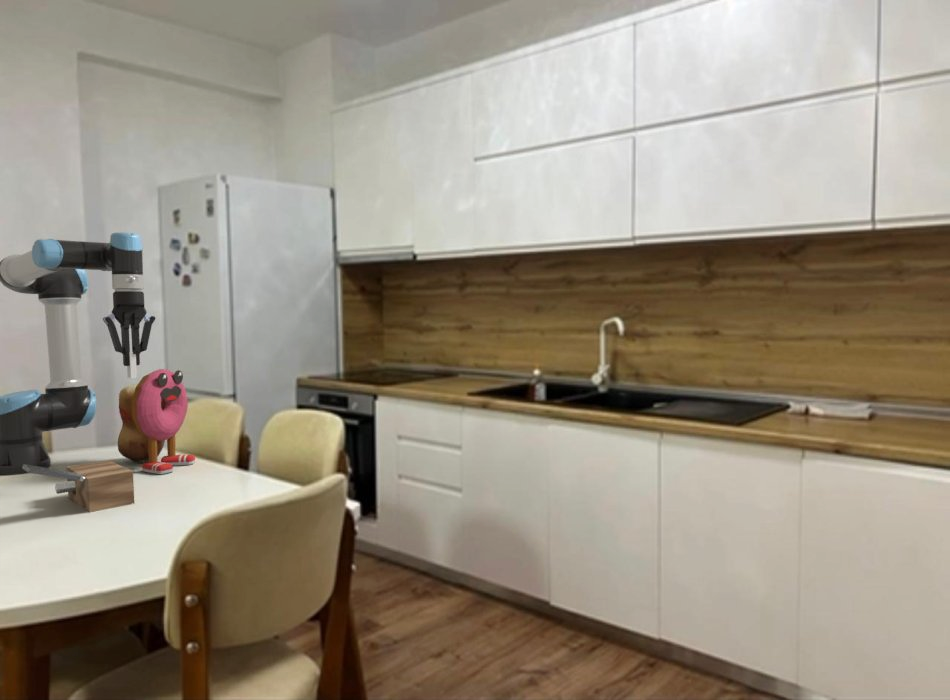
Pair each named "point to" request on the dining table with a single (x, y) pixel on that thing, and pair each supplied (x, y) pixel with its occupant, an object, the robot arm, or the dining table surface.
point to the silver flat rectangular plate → (53, 472)
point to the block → (102, 486)
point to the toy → (161, 417)
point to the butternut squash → (132, 431)
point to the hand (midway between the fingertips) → (132, 377)
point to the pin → (65, 487)
